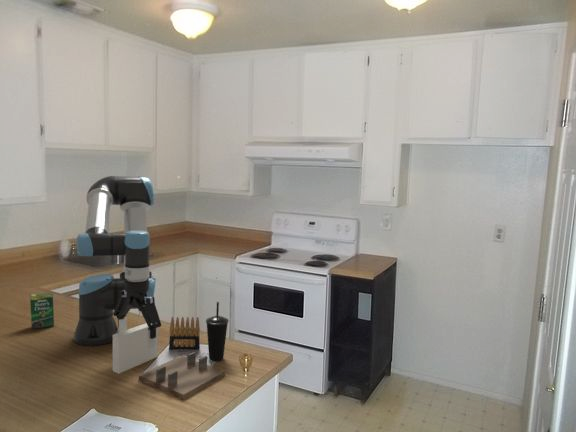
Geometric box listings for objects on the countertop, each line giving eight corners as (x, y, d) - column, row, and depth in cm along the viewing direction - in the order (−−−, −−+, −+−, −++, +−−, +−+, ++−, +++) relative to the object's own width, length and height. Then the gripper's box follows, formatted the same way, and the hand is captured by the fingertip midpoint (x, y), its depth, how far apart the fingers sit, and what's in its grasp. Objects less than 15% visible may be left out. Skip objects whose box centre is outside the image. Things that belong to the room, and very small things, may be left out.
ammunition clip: (199, 347, 165) (200, 315, 164) (199, 350, 163) (200, 317, 162) (169, 347, 164) (170, 315, 162) (168, 350, 162) (169, 317, 161)
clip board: (138, 379, 140) (138, 364, 139) (181, 359, 155) (181, 345, 154) (183, 399, 130) (184, 382, 129) (224, 375, 145) (225, 360, 144)
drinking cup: (202, 354, 159) (204, 299, 157) (224, 352, 162) (226, 298, 160) (207, 364, 152) (208, 306, 150) (229, 361, 155) (231, 305, 153)
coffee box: (30, 329, 174) (29, 296, 173) (30, 326, 177) (30, 293, 175) (54, 326, 178) (53, 294, 176) (54, 324, 180) (53, 292, 179)
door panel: (112, 371, 145) (112, 334, 143) (152, 354, 158) (152, 321, 157) (118, 373, 143) (118, 337, 142) (158, 356, 157) (158, 323, 155)
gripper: (102, 274, 150) (102, 337, 153) (154, 288, 137) (153, 355, 140) (121, 271, 157) (121, 330, 159) (173, 283, 144) (172, 348, 146)
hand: (136, 342), depth 149 cm, fingers open, 13 cm apart
